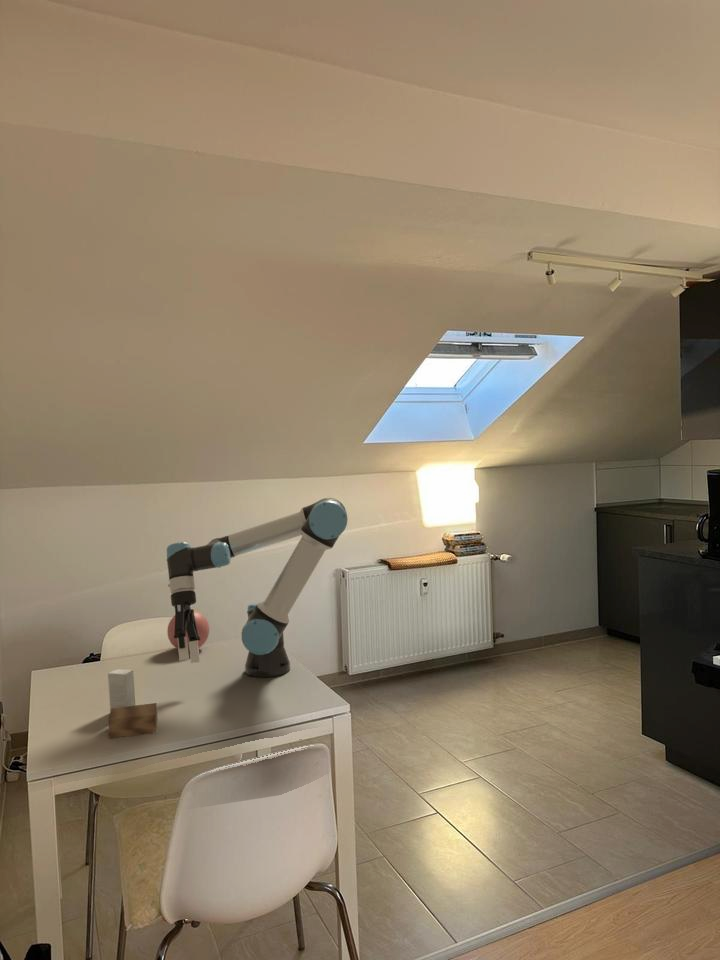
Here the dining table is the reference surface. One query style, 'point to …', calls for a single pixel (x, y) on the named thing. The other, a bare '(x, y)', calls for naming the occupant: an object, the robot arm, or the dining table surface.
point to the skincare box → (121, 688)
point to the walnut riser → (132, 720)
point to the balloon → (201, 627)
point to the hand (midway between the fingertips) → (190, 661)
